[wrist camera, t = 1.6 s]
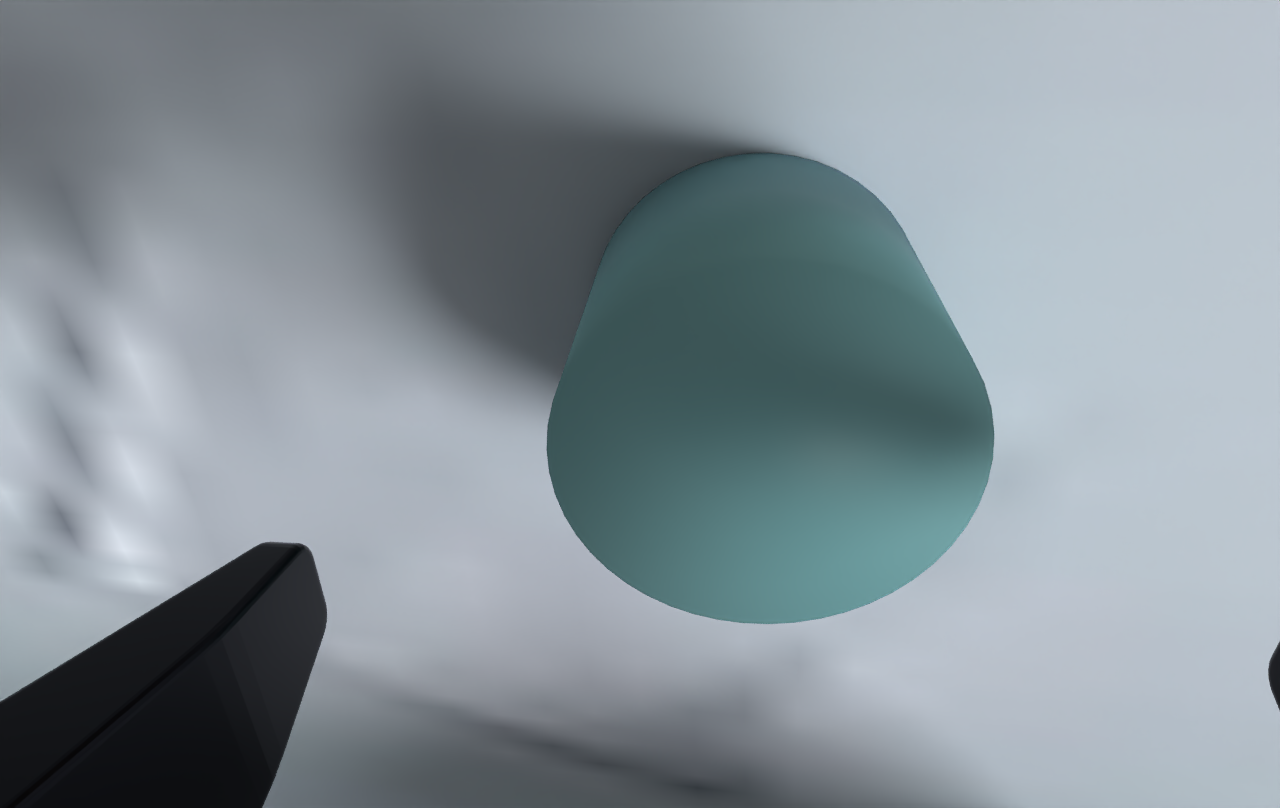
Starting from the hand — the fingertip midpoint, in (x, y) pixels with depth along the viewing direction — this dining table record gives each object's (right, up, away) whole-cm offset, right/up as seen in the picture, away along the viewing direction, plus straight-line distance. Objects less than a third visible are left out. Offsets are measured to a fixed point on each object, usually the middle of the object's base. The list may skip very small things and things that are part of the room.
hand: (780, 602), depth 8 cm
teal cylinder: (0, +3, +5) cm, 6 cm away
